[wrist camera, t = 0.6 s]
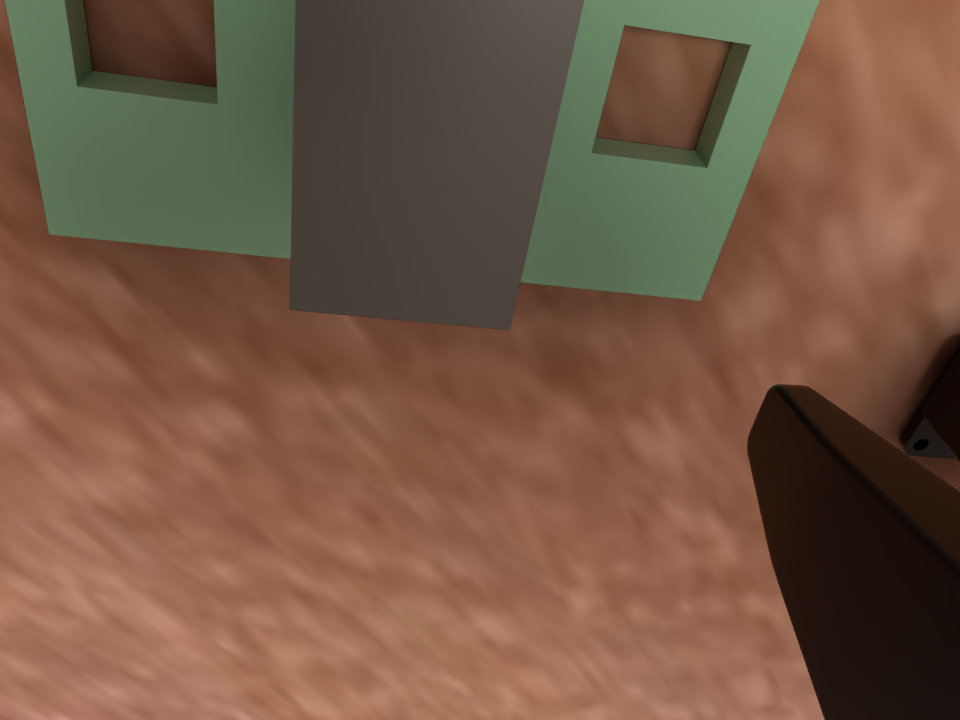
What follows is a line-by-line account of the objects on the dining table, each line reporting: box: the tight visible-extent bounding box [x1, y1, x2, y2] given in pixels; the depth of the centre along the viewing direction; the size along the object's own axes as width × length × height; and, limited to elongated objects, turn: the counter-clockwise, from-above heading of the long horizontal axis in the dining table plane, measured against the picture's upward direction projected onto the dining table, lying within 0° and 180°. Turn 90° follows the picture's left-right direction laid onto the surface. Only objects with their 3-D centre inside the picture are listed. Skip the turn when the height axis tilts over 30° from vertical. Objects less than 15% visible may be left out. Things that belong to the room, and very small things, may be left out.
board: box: [5, 0, 820, 330], centre depth 15 cm, size 16×10×6 cm, turn 81°
